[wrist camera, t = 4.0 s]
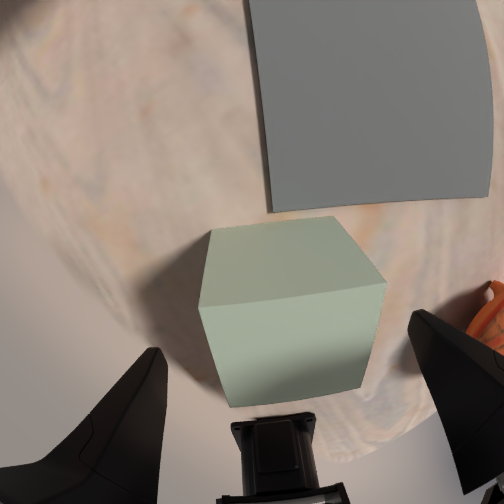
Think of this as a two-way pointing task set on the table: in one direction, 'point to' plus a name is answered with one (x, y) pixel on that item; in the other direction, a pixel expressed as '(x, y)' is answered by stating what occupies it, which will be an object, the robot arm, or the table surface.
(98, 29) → the table surface
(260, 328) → the sage block
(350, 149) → the charcoal mat
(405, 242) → the table surface
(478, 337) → the pot
